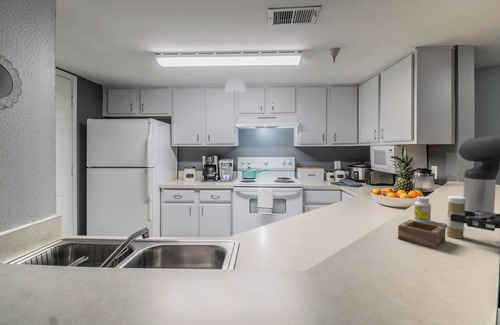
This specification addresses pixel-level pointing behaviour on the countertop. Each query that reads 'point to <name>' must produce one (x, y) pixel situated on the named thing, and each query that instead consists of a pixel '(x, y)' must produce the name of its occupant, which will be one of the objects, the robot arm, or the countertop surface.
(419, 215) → the supplement bottle
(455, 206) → the sprinkles bottle
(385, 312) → the countertop surface
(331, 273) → the countertop surface
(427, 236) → the box
